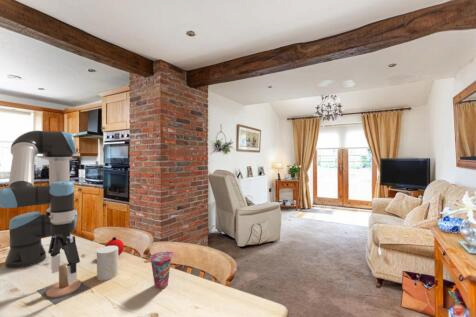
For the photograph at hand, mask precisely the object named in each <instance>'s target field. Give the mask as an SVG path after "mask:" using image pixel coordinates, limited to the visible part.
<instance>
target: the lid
mask: <svg viewBox="0 0 476 317" xmlns="http://www.w3.org/2000/svg"><path fill="white" fill-rule="evenodd" d="M67 264H68V263H67ZM67 264H60V266H59V271H58V281H57V282H55V283H53V285H52V284H50V285H51V286H50V285H49V286H50V287H48V288H47V290H46V296H47V297H49V298H58V297H63V296H66V295H69V294H71V293H73V292H75V291H77V290H78V289H79V288H80V287H81V283H82V280H80V279H78V278H77V280H75V281H73V282H70V283H68V273H67Z"/></svg>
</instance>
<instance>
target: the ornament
mask: <svg viewBox="0 0 476 317" xmlns="http://www.w3.org/2000/svg"><path fill="white" fill-rule="evenodd" d="M106 246H117V247H118V257H119V256H120V255H121V254H122V253H124V250H125V245H124V242H123V241H122V240H121V239H119V238H117V237H115V236H114V237H112V239H110V240H109V241H107V243H105V245H104V247H106Z"/></svg>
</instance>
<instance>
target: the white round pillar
mask: <svg viewBox="0 0 476 317" xmlns="http://www.w3.org/2000/svg"><path fill="white" fill-rule="evenodd" d="M119 274H120V273H119V256H118V247H117V246H106V247H105V246H102V247H99V248H98V249H97V250H96V278H97V280H98V281H109V280H112V279H115V278H116V277H117V276H118V275H119Z"/></svg>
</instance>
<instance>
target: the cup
mask: <svg viewBox="0 0 476 317" xmlns="http://www.w3.org/2000/svg"><path fill="white" fill-rule="evenodd" d="M174 254H175V253H174V251H160V252H156V253H154V254H152V255H150V256H149V259H150V263H151V264H150V265H151V268H152V275H153V276H152V277H153V278H152V279H153V283H154V288H155V289H156V290H157V289H158V290H162V289H165V288H166V287H168V285H169V279H170V270H171V263H172V256H174Z"/></svg>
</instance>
